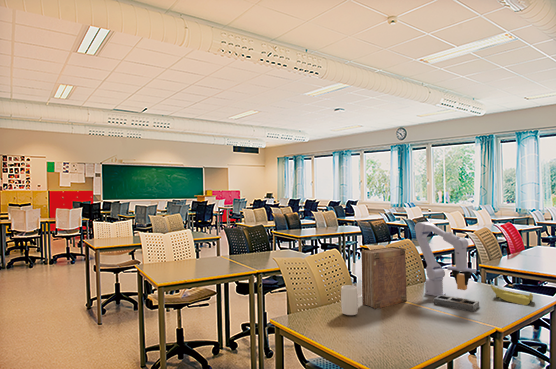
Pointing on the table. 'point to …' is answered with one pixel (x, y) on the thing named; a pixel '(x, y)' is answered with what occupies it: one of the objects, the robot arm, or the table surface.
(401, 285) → the book
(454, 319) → the table surface
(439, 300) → the grey compartment tray
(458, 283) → the peg
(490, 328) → the table surface
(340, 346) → the table surface
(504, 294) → the banana
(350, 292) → the cup
